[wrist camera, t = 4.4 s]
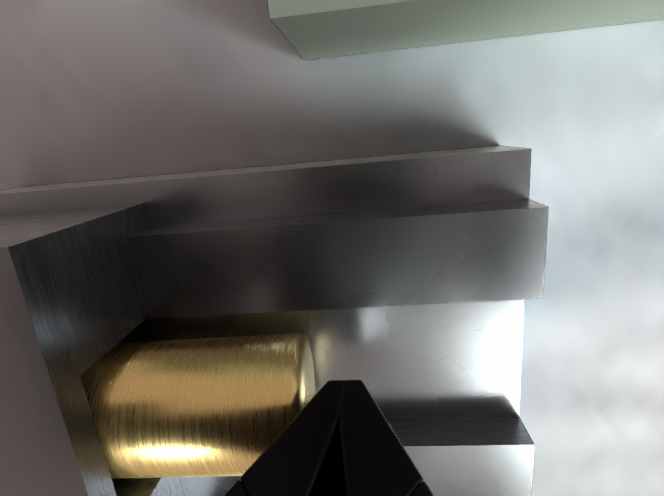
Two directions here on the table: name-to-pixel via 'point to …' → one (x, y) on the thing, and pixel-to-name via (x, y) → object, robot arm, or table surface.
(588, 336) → the table surface
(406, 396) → the grey slotted block
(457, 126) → the table surface
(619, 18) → the v block
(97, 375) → the axle
